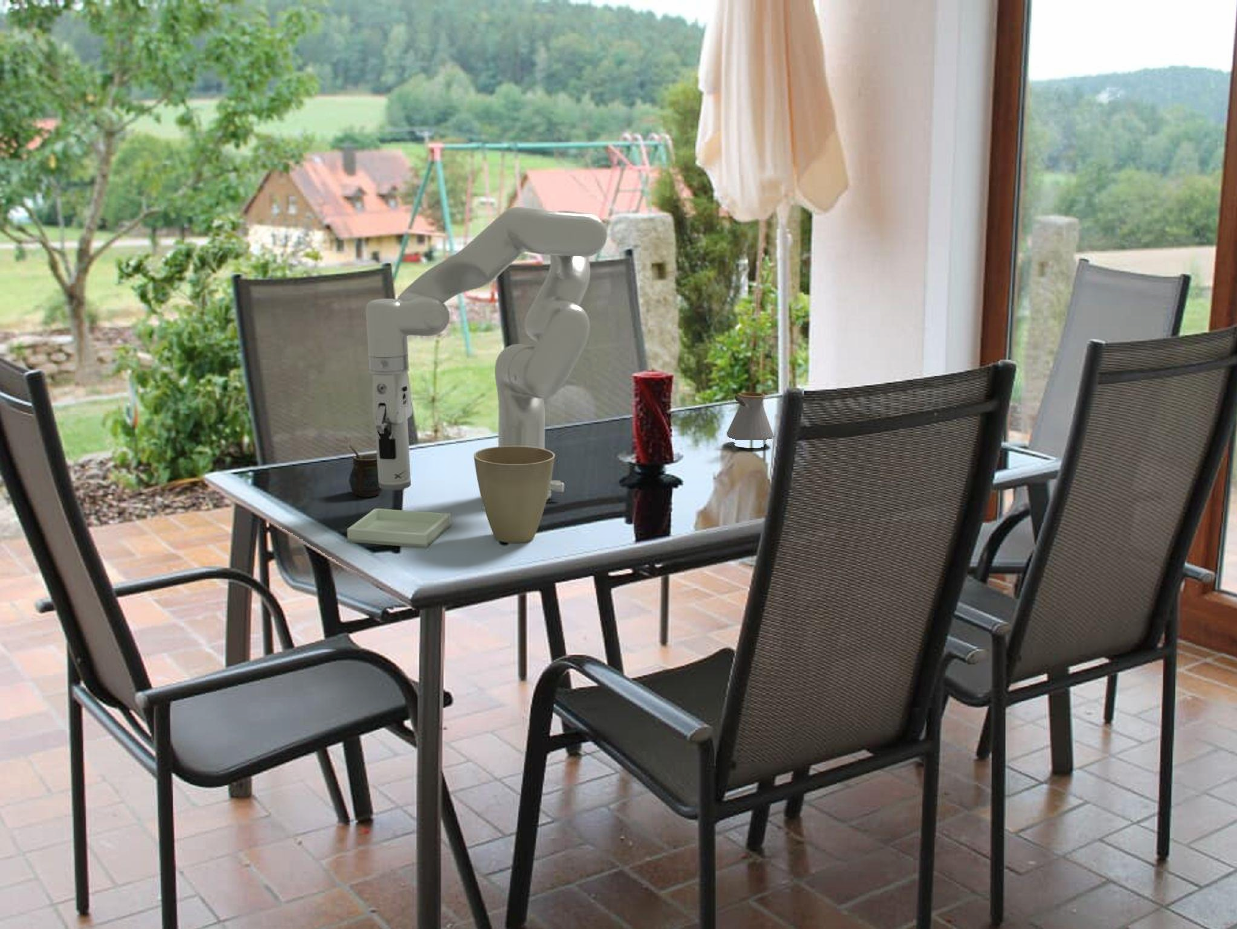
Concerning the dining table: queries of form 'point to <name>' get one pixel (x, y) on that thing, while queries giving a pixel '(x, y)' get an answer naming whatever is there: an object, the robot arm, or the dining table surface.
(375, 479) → the mate gourd
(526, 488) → the plant pot
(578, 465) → the dining table surface
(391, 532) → the tray
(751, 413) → the coffee pot
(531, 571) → the dining table surface
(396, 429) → the travel mug
